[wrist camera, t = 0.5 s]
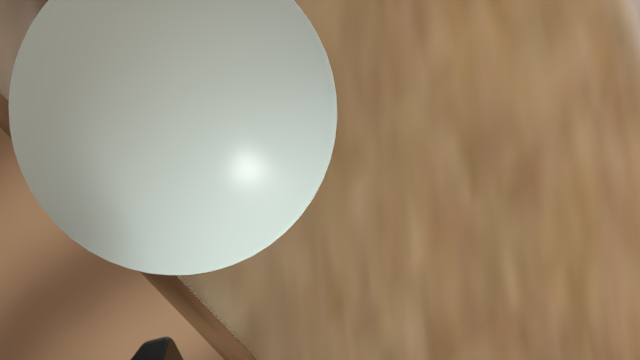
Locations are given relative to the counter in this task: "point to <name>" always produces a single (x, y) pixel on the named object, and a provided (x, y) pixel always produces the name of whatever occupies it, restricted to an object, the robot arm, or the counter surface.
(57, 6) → the pale upright pillar block
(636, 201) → the counter surface
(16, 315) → the walnut shelf board
